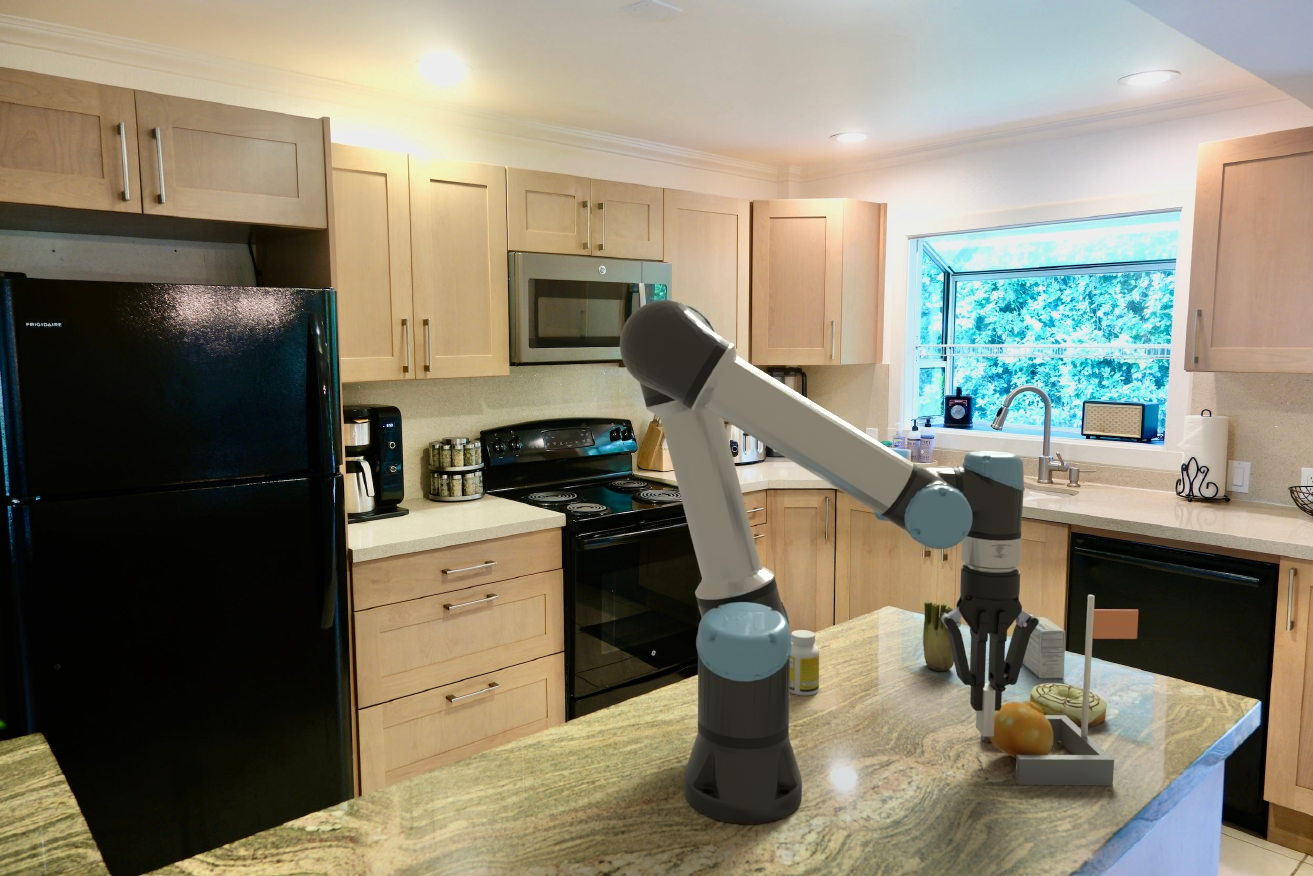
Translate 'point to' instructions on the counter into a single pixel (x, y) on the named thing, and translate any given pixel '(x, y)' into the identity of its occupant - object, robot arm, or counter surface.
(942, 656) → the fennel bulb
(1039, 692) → the decorated donut
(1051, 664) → the medicine box
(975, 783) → the counter surface
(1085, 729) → the flagpole corner frame
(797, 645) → the supplement bottle
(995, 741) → the fruit
